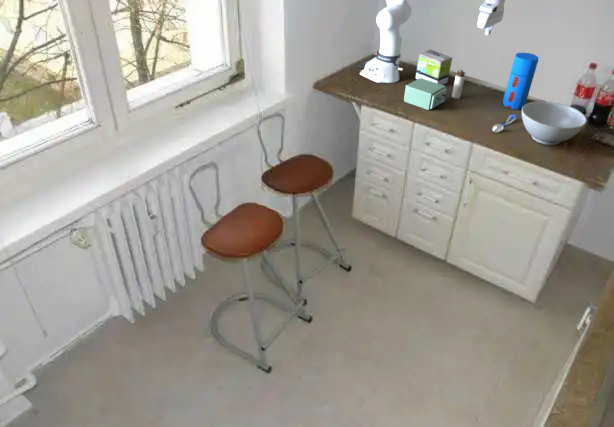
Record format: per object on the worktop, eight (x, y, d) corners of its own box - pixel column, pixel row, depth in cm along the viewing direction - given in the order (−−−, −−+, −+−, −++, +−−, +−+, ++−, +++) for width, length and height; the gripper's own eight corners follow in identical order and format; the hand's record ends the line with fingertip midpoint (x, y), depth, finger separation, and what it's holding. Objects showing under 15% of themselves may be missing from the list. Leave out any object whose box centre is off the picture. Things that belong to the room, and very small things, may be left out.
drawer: (451, 104, 261) (454, 91, 257) (439, 111, 253) (441, 98, 249) (421, 93, 270) (423, 81, 266) (408, 100, 263) (410, 88, 259)
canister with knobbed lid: (449, 96, 270) (455, 69, 261) (454, 94, 273) (459, 67, 264) (457, 99, 268) (463, 72, 259) (462, 96, 270) (467, 70, 262)
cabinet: (442, 102, 265) (445, 85, 260) (428, 110, 256) (431, 93, 251) (417, 93, 272) (420, 77, 267) (403, 101, 264) (405, 85, 259)
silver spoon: (511, 109, 250) (520, 112, 248) (509, 116, 252) (518, 119, 250) (491, 125, 239) (501, 128, 236) (489, 132, 241) (499, 135, 239)
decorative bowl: (530, 119, 251) (537, 96, 244) (586, 139, 236) (596, 114, 229) (504, 137, 235) (511, 113, 228) (563, 159, 221) (572, 134, 213)
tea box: (414, 79, 288) (418, 52, 279) (426, 74, 293) (430, 48, 285) (436, 87, 279) (441, 60, 270) (447, 83, 284) (453, 56, 276)
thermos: (498, 104, 264) (511, 56, 249) (508, 98, 270) (521, 50, 255) (518, 111, 258) (533, 62, 243) (528, 105, 264) (542, 56, 249)
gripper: (497, -1, 255) (490, 28, 263) (478, 7, 242) (471, 37, 251) (509, 2, 252) (502, 31, 260) (490, 10, 239) (484, 40, 247)
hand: (487, 34), depth 255 cm, fingers closed
